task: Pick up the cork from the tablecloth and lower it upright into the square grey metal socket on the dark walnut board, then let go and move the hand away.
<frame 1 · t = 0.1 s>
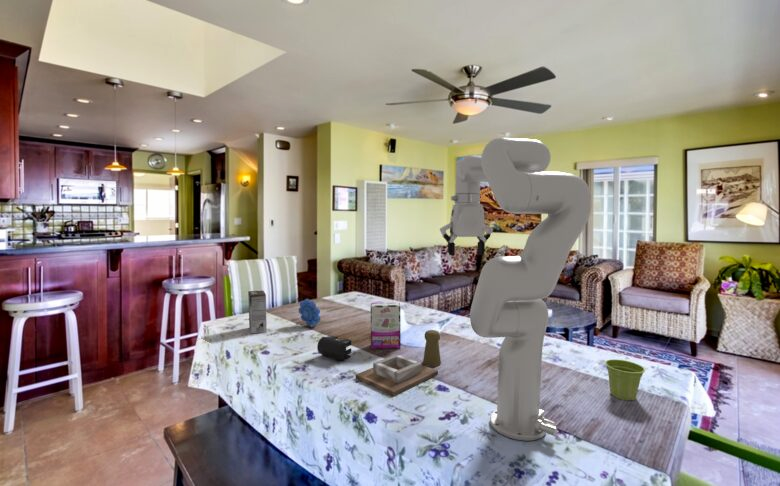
hand: (466, 255, 120), 37 cm above the table, tool pointing down, fingers open, 9 cm apart
candy bar box: (385, 347, 144), on the table
end cap: (334, 358, 133), on the table
socket board: (397, 376, 118), on the table
plant pot: (622, 396, 106), on the table
blue scalloped wheel: (308, 326, 169), on the table
coffee box: (257, 330, 163), on the table
cork: (431, 363, 129), on the table
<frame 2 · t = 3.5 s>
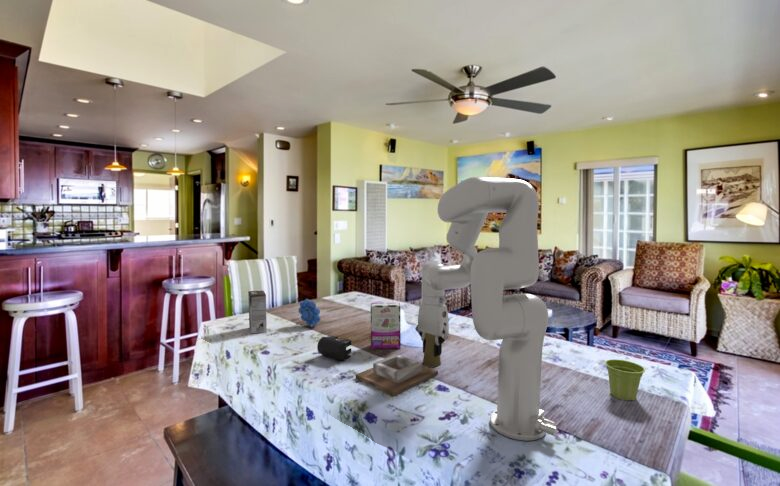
hand: (432, 353, 128), 3 cm above the table, tool pointing down, fingers closed on cork, 4 cm apart
cork: (431, 363, 129), on the table, touching gripper
everything else where it was.
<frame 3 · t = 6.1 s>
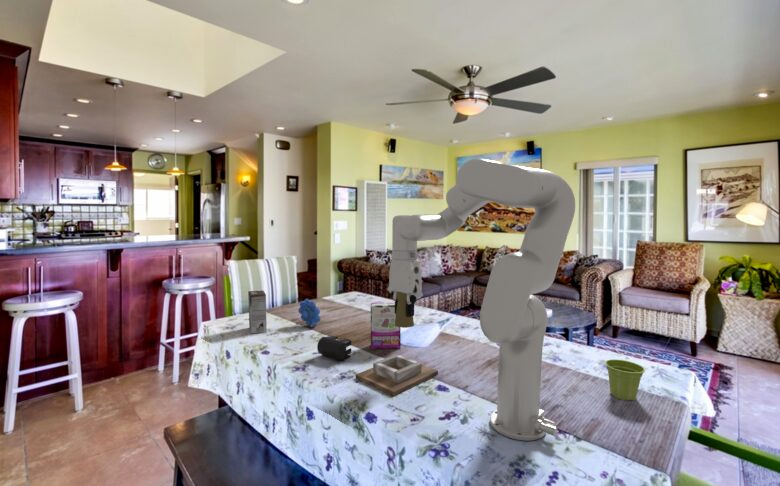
hand: (404, 314, 118), 19 cm above the table, tool pointing down, fingers closed on cork, 4 cm apart
cork: (404, 325, 118), point 16 cm above the table, touching gripper
everything else where it was.
when the fingers open (6 cm above the table, at t = 9.2 s): cork drops 1 cm, resting on socket board.
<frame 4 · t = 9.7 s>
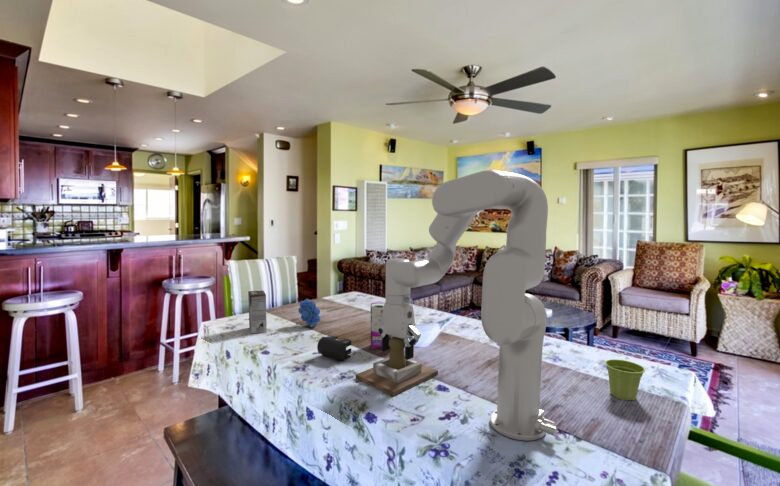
hand: (397, 354, 117), 7 cm above the table, tool pointing down, fingers open, 9 cm apart
cork: (397, 373, 118), point 1 cm above the table, touching socket board
everything else where it was.
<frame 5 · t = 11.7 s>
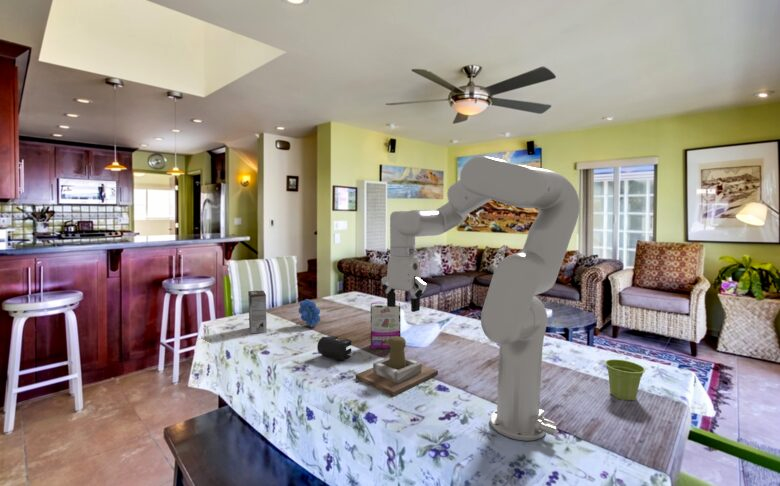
hand: (403, 308, 116), 21 cm above the table, tool pointing down, fingers open, 9 cm apart
nothing on the table moved.
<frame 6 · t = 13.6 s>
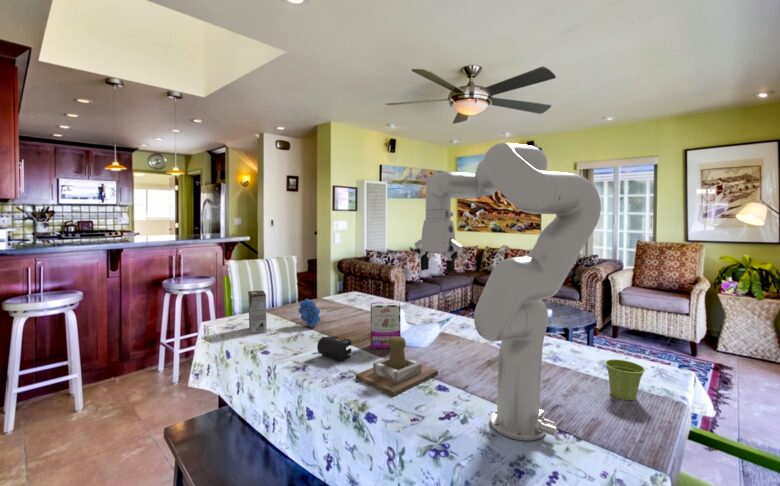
hand: (436, 271, 118), 32 cm above the table, tool pointing down, fingers open, 9 cm apart
nothing on the table moved.
at the end: cork 0.1 cm off-centre on the socket board, point 1.0 cm above the socket board's base; cork tilted 0°; the gripper is holding nothing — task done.
